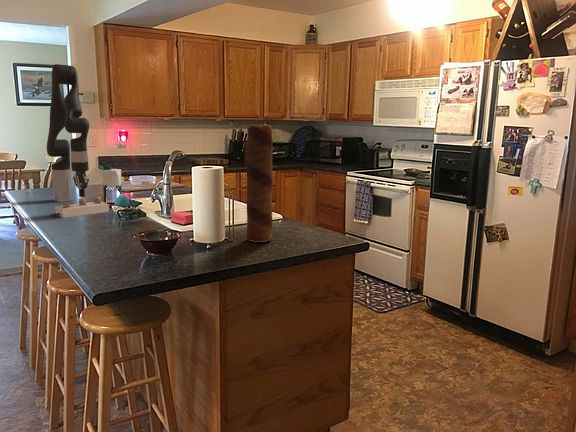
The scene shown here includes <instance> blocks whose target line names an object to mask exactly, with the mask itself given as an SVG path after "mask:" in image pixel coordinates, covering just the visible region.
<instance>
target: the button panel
mask: <svg viewBox="0 0 576 432" xmlns="http://www.w3.org/2000/svg"><path fill="white" fill-rule="evenodd" d="M54 210H55V212H54V213H50V214H49V216H50V217H60V218H72V217H73V218H74V217H81V216H86V215H87V216H88V215H93V214H94V215H96V214H103V213H108V212H109V213H110V204H107V203H106V202H104V201H101V203H94V201H93V202H86V204H85V205H79V203H74V204H70V207H69V208H63V205H58V206H57V205H55V208H54Z"/></svg>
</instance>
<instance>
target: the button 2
mask: <svg viewBox="0 0 576 432" xmlns="http://www.w3.org/2000/svg"><path fill="white" fill-rule="evenodd" d="M86 203H87V200H86V198H78V204H79V205H85V204H86Z"/></svg>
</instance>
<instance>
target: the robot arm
mask: <svg viewBox="0 0 576 432" xmlns="http://www.w3.org/2000/svg"><path fill="white" fill-rule="evenodd" d="M51 69H52V70H51V99H50V109H49V128H48V135H47V141H46V152H47V155H48V156H49V157H51V158H59V157H61V159H60V160H58V161H56V162H54V163H52V164H51V177H52V186H53V187H52V188H53V201H54V202H59V203H61V202H63V203H64V202H71V201H73V188H72V179H73V181H74V184H75V187H76V188H77V189H78V197H79V198H85V196H86V192H85V191H86V189H87V188H88V186H89V185H88V184H89V182H90V178H87V172H88V171H89V170H90V169H89V167H90V165H89V155H88V150H87V149H88V147H87V146H88V144H87V143H88V142H87V140H88V133H89V130H90V122H89V120H88V119H87V118H85V117H82V116H83V109H82V105H81V101H80V90H79V89H80V88H79V86H80V85H79V77H78V71H77V68H76V67H75V66H73V65H68V64H59V63H54V64H53V66H52V68H51ZM60 85H66V86H67V85H69V86H70V89H69V91H68V92H67V94H66V95H65V97H64V94H63V93H62V91H61V88H60ZM63 129H65V131H66V132H67V133H69V134H80V136H79V137H78V136H77V137H75V138H71V139H70V142H69V140H67V139H63V138H62V139H58V137H59V136H58V135H59V134H60V133H61V132H62V131H63ZM71 171H72V172H74V176H72V173H71Z"/></svg>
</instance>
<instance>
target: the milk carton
mask: <svg viewBox="0 0 576 432" xmlns="http://www.w3.org/2000/svg"><path fill="white" fill-rule="evenodd" d="M101 175H102V188H103V189H102V190H103V202H106V188H107V187H108V186H113V187H116V188H117V189H118V191H119V192H120V194H121V195H122V196H123V193H122V192H123V190H122V189H123V188H122V187H123V186H122V169H120V168H119V169H118V168H112V165H107V164H105V165H103V168H102V170H101Z"/></svg>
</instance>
